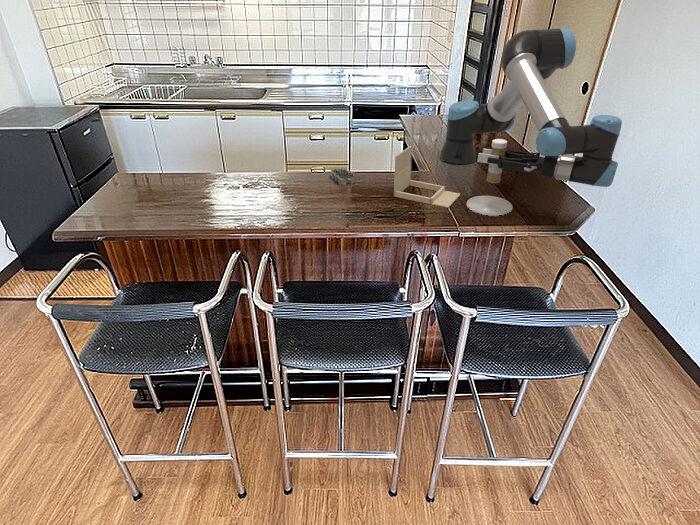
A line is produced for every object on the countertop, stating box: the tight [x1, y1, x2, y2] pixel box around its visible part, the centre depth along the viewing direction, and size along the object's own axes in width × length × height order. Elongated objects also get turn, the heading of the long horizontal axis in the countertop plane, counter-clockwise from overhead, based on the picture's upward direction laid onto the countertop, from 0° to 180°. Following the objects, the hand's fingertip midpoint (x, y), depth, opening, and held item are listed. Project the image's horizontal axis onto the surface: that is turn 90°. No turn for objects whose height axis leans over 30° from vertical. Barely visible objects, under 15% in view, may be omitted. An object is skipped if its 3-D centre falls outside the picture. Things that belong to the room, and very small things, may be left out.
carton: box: [393, 145, 461, 209], centre depth 154 cm, size 21×13×15 cm, turn 59°
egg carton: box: [330, 167, 357, 186], centre depth 171 cm, size 11×8×4 cm
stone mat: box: [466, 195, 513, 217], centre depth 149 cm, size 15×15×1 cm
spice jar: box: [486, 138, 508, 184], centre depth 140 cm, size 5×5×13 cm
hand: (480, 155), depth 142 cm, fingers closed on spice jar, 4 cm apart
